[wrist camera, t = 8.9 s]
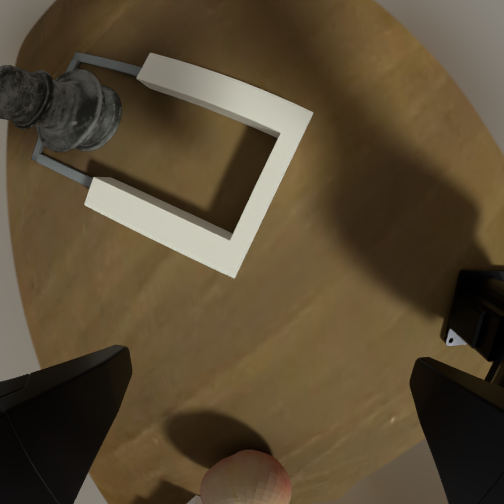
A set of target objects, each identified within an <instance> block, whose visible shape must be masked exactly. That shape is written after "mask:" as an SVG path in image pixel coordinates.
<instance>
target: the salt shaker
mask: <svg viewBox="0 0 504 504" xmlns="http://www.w3.org/2000/svg"><path fill="white" fill-rule="evenodd" d="M121 113H122V109H121V102H120V99H119V97H118V95H117V94H116V93H115V91H114V90H112V89H111V88H109V87H107V86H102V85H100V83H99V80H98V79H97V78H96V77H95V76H94V74H92V73H90V72H88V71H86V70H81V69H76V70H71V71H68V72H66V73H64V74H62V75H60V76H59V77H58V78H57V79H56V80H53V79H52V77H51V75H50V74H49V73H48V72H46V71H43V70H38V71H35V72H33V73H30V72H28V71H25V70H22V69H19V68H17V67H14V66H11V65H4V66H1V67H0V119H6V120H12V121H13V123H14V125H15V126H17V127H18V128H20V129H28V128H31V127H33V126H36V129H37V133H38V136H39V139H40V140H41V142H42V144H43V145H44V146H45V147H47V148H48V149H49V150H52V151H55V152H66V151H69V150H71V149H74V148H76V149H79V150H82V151H93V150H96V149H99V148H100V147H102V146H103V145H105V144H106V143H107V142H108V141H109V140H110V139H111V138H112V137H113V135H114V133H115V132H116V130H117V128H118V126H119V123H120V120H121Z"/></svg>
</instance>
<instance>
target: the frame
mask: <svg viewBox="0 0 504 504" xmlns="http://www.w3.org/2000/svg"><path fill="white" fill-rule="evenodd" d="M80 62H82V63H86V64H91V65H95V66H99V67H103V68H107V69H111V70H115V71H119V72H123V73H126V74H130V75H133V76H138V74H139V72H140V70H141V69H142V67H138V66H135V65H131V64H127V63H123V62H119V61H115V60H111V59H106V58H102V57H97V56H93V55H88V54H83V53H78V52H76V53H75V55H74V57H73V59H72V61H71V62H70V64H69V66H68V68H67V70H66V72H68V71H71V70H76V69H77V67H78V65H79V63H80ZM43 148H44V145H43V144H42V142H41V140H40V139H39V137H38V140H37V143H36V146H35V149H34V152H33V155H32V160H34V161H36V162H38V163H40V164H42V165H44V166H46V167H48V168H50V169H52V170H54V171H56V172H58V173H60V174H62V175H64V176H66V177H69V178H71V179H73V180H75V181H77V182H79V183H81V184H83V185H85V186H87V187H89V188H90V186H91V183H92V180H93V178H92V177H90V176H88V175H86V174H84V173H82V172H79V171H77V170H75V169H73V168H71V167H69V166H67V165H65V164H62V163H60V162H58V161H56V160H54V159H52V158H50V157H47V156H45V155H43V154H42V151H43Z"/></svg>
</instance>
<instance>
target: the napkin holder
mask: <svg viewBox="0 0 504 504" xmlns="http://www.w3.org/2000/svg"><path fill="white" fill-rule="evenodd" d="M187 504H202V501H201V497H200V496H197V495H196V496H195V497H194V498H192V499H191V500H190V501H189V502H188V503H187Z"/></svg>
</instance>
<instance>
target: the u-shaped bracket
mask: <svg viewBox="0 0 504 504" xmlns="http://www.w3.org/2000/svg"><path fill="white" fill-rule="evenodd" d="M136 79H137V80H139V81H140V82H141V83H143V84H144V85H146V86H147V87H148V88H149V89H152V90H155V91H158V92H161V93H164V94H167V95H170V96H173V97H176V98H179V99H182V100H185V101H187V102H190V103H193V104H196V105H198V106H201V107H204V108H206V109H209V110H212V111H214V112H217V113H219V114H222V115H224V116H227V117H229V118H232V119H234V120H237V121H239V122H241V123H244V124H246V125H249V126H251V127H253V128H256V129H258V130H260V131H262V132H265V133H267V134H269V135H271V136H274V137H276V138H278V140H277V142H276V144H275V146H274V148H273V150H272V152H271V154H270V156H269V158H268V161H267V163H266V165H265V167H264V169H263V171H262V173H261V175H260V177H259V179H258V182H257V184H256V186H255V188H254V190H253V192H252V194H251V196H250V199H249V201H248V203H247V205H246V207H245V209H244V211H243V214H242V216H241V218H240V220H239V222H238V224H237V227H236V229H235V231H234V233H231V232H228V231H226V230H224V229H222V228H220V227H218V226H216V225H213V224H211V223H209V222H207V221H205V220H203V219H201V218H198V217H196V216H194V215H192V214H190V213H188V212H185V211H183V210H181V209H179V208H177V207H175V206H172V205H170V204H168V203H166V202H164V201H162V200H159V199H157V198H155V197H153V196H151V195H149V194H146V193H144V192H142V191H140V190H138V189H136V188H133V187H131V186H129V185H127V184H125V183H122V182H120V181H118V180H116V179H114V178H112V177H93V180H92V183H91V186H90V189H89V192H88V195H87V198H86V201H85V204H84V205H85V206H87V207H89V208H91V209H93V210H95V211H97V212H99V213H101V214H103V215H105V216H107V217H109V218H111V219H113V220H115V221H117V222H119V223H121V224H123V225H125V226H127V227H129V228H131V229H133V230H135V231H137V232H139V233H141V234H143V235H145V236H147V237H149V238H151V239H153V240H155V241H157V242H159V243H161V244H163V245H165V246H167V247H169V248H171V249H173V250H175V251H177V252H179V253H181V254H184V255H186V256H188V257H190V258H192V259H194V260H196V261H198V262H200V263H202V264H204V265H207V266H209V267H211V268H213V269H215V270H217V271H219V272H221V273H224V274H226V275H228V276H230V277H232V278H234V279H235V277H236V275H237V272H238V270H239V268H240V266H241V264H242V262H243V260H244V258H245V256H246V253H247V251H248V249H249V247H250V245H251V243H252V241H253V239H254V237H255V234H256V232H257V230H258V228H259V226H260V224H261V222H262V220H263V218H264V216H265V213H266V211H267V209H268V207H269V205H270V203H271V201H272V199H273V197H274V195H275V192H276V190H277V188H278V186H279V184H280V182H281V180H282V178H283V176H284V174H285V171H286V169H287V167H288V165H289V163H290V161H291V159H292V157H293V155H294V153H295V151H296V148H297V146H298V144H299V142H300V140H301V138H302V136H303V134H304V132H305V130H306V128H307V125H308V123H309V121H310V119H311V117H312V115H313V112H311V111H309V110H307V109H305V108H303V107H301V106H298V105H296V104H294V103H292V102H290V101H287V100H285V99H283V98H280V97H278V96H276V95H274V94H271V93H269V92H266V91H264V90H262V89H259V88H257V87H254V86H252V85H249V84H246V83H244V82H241V81H239V80H236V79H233V78H230V77H228V76H225V75H222V74H219V73H216V72H213V71H211V70H208V69H205V68H202V67H198V66H195V65H192V64H189V63H186V62H182V61H179V60H176V59H172V58H168V57H165V56H161V55H157V54H154V53H150V54H149V56H148V58H147V59H146V61H145V63H144V65H143V67H142V69H141V70H140V72H139V74H138V76H137V78H136Z"/></svg>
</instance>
